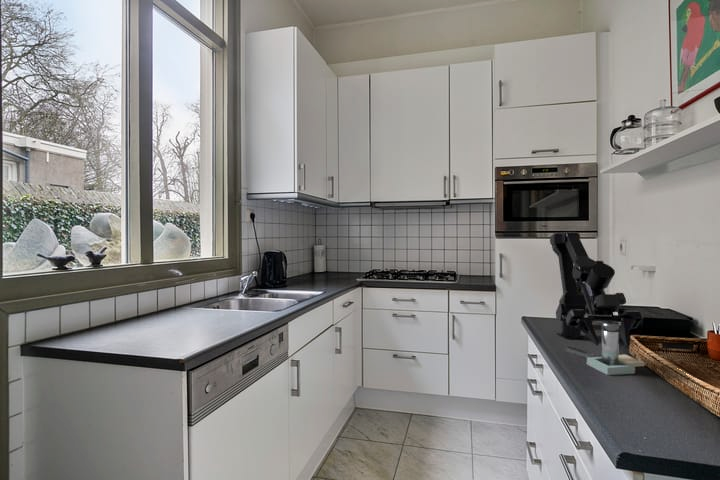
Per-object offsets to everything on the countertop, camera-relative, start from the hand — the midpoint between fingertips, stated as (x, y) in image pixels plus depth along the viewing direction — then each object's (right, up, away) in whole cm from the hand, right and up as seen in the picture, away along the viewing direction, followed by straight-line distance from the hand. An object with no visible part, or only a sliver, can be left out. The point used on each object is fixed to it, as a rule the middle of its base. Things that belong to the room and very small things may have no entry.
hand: (612, 345), depth 104 cm
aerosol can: (+17, -6, +45) cm, 49 cm away
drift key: (-1, -7, +14) cm, 15 cm away
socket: (0, -7, +2) cm, 7 cm away
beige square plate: (+7, -7, +6) cm, 12 cm away
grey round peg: (0, -7, +2) cm, 7 cm away
